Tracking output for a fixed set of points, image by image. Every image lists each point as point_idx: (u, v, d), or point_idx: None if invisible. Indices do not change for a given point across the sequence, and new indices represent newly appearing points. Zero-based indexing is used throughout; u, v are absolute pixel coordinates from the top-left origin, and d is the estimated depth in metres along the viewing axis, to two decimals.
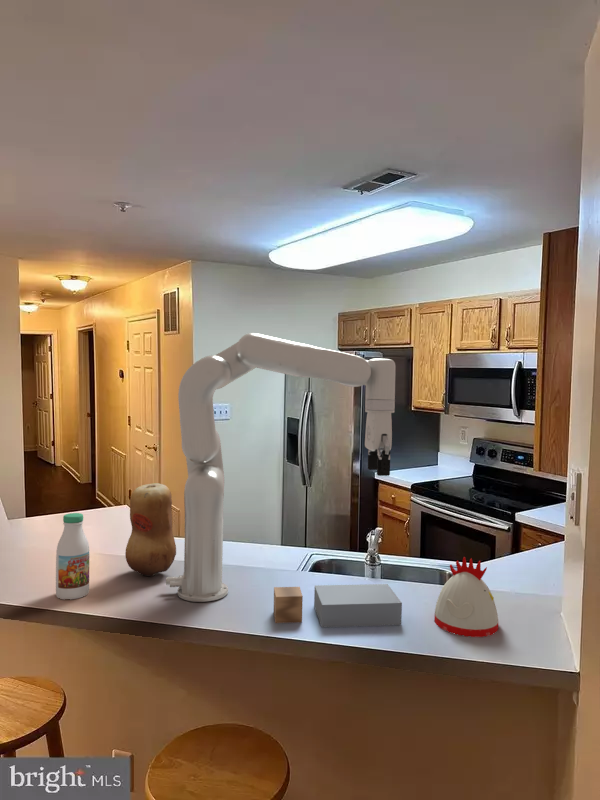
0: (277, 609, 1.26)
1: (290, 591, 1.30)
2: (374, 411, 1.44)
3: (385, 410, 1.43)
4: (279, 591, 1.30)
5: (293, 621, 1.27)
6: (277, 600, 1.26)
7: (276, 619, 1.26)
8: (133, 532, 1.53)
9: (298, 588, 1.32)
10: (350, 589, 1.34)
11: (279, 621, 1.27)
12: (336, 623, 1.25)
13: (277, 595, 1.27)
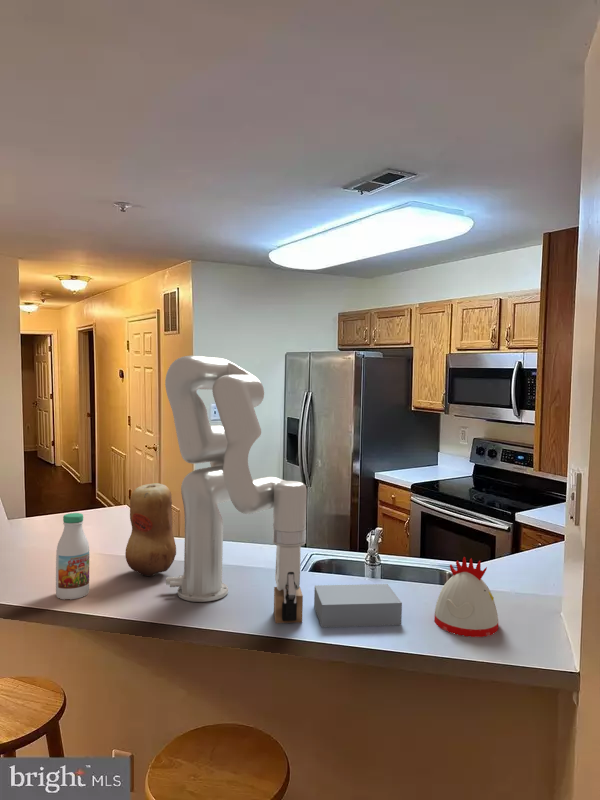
0: (277, 609, 1.26)
1: None
2: (280, 544, 1.26)
3: (293, 544, 1.26)
4: (279, 591, 1.30)
5: (293, 621, 1.27)
6: (277, 600, 1.26)
7: (276, 619, 1.26)
8: (133, 532, 1.53)
9: None
10: (350, 589, 1.34)
11: (279, 621, 1.27)
12: (336, 623, 1.25)
13: (277, 595, 1.27)
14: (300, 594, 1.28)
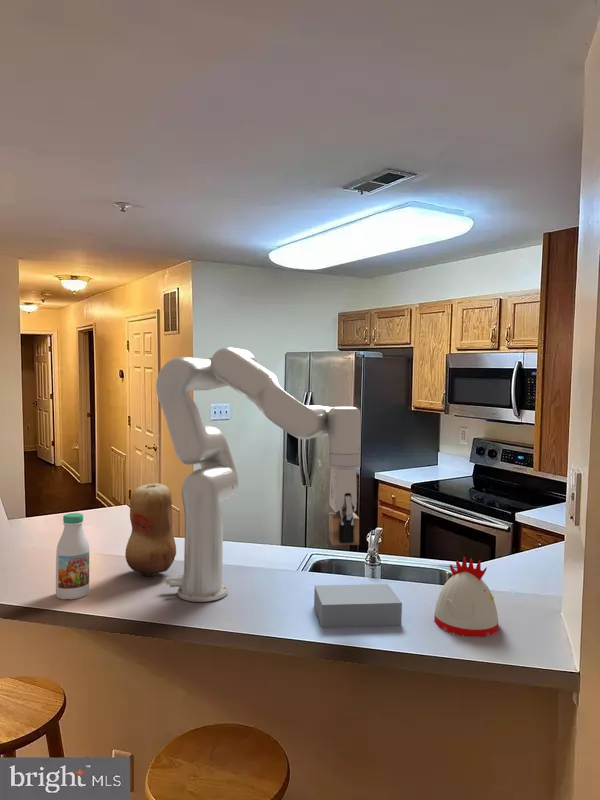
0: (334, 531, 1.27)
1: None
2: (336, 467, 1.27)
3: (349, 466, 1.27)
4: (335, 515, 1.30)
5: (350, 543, 1.28)
6: (334, 522, 1.27)
7: (333, 541, 1.27)
8: (133, 532, 1.53)
9: (353, 513, 1.33)
10: (350, 589, 1.34)
11: (336, 543, 1.27)
12: (336, 623, 1.25)
13: (334, 517, 1.28)
14: (356, 517, 1.29)
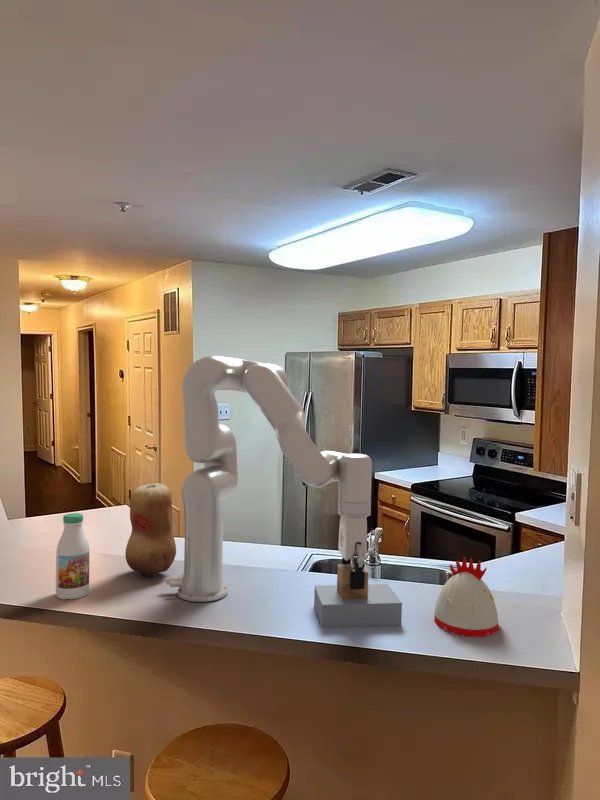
0: (343, 585, 1.28)
1: None
2: (347, 515, 1.28)
3: (359, 514, 1.27)
4: (344, 568, 1.31)
5: (359, 597, 1.29)
6: (343, 576, 1.28)
7: (342, 595, 1.28)
8: (133, 532, 1.53)
9: None
10: None
11: (345, 597, 1.28)
12: (336, 623, 1.25)
13: (343, 571, 1.29)
14: (365, 571, 1.29)
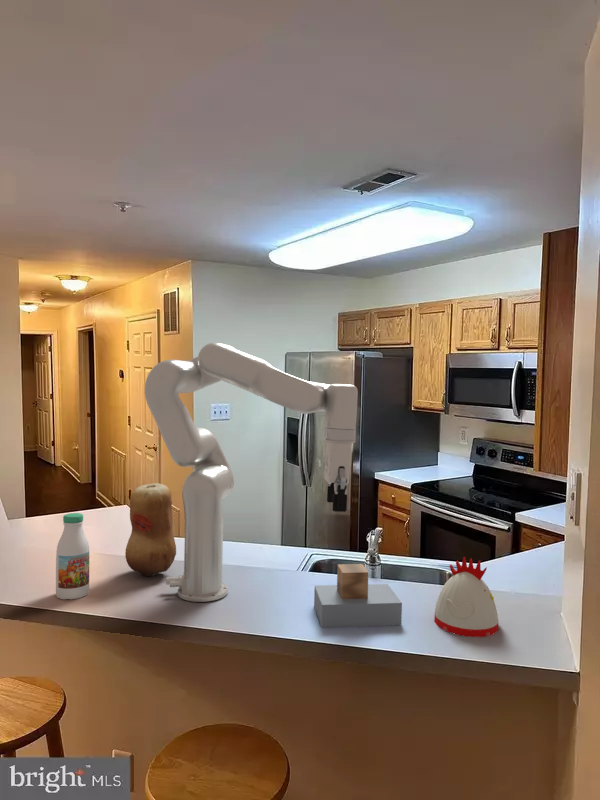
0: (343, 585, 1.28)
1: (355, 568, 1.31)
2: (332, 441, 1.33)
3: (344, 440, 1.32)
4: (344, 568, 1.31)
5: (359, 597, 1.29)
6: (343, 576, 1.28)
7: (342, 595, 1.28)
8: (133, 532, 1.53)
9: (361, 565, 1.33)
10: None
11: (345, 597, 1.28)
12: (336, 623, 1.25)
13: (343, 571, 1.29)
14: (365, 571, 1.29)
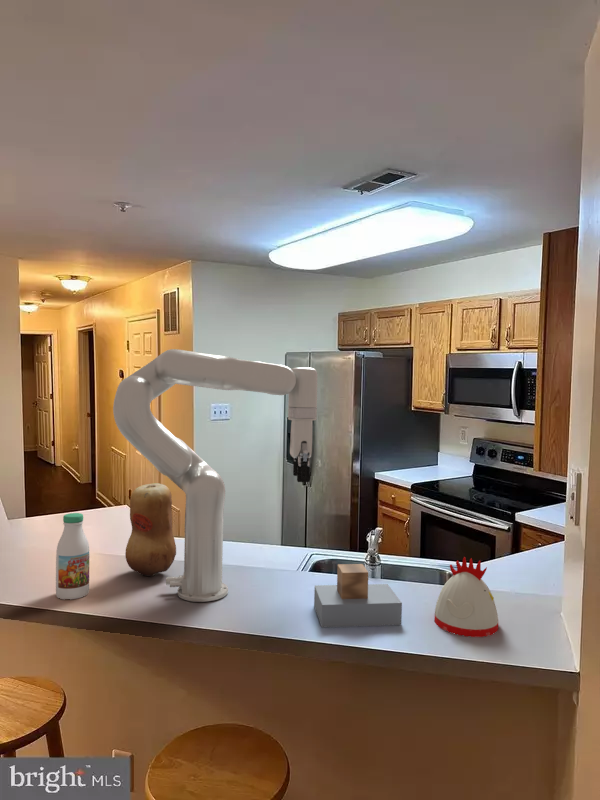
0: (343, 585, 1.28)
1: (355, 568, 1.31)
2: (295, 419, 1.47)
3: (305, 418, 1.46)
4: (344, 568, 1.31)
5: (359, 597, 1.29)
6: (343, 576, 1.28)
7: (342, 595, 1.28)
8: (133, 532, 1.53)
9: (361, 565, 1.33)
10: None
11: (345, 597, 1.28)
12: (336, 623, 1.25)
13: (343, 571, 1.29)
14: (365, 571, 1.29)
